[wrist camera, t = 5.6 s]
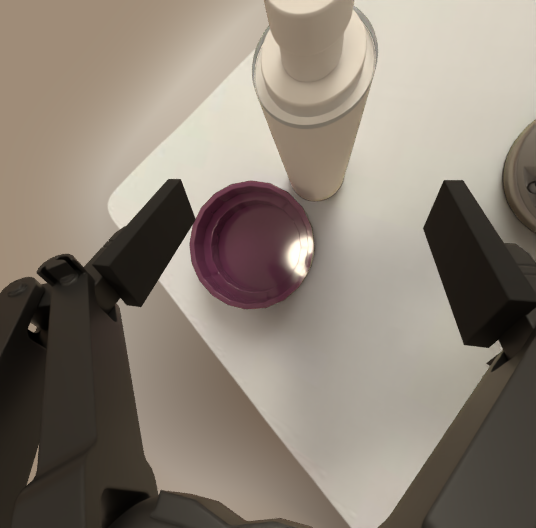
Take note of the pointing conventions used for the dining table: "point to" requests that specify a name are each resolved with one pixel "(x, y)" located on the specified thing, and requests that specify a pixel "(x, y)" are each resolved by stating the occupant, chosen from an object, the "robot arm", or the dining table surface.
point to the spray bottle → (314, 87)
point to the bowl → (251, 245)
